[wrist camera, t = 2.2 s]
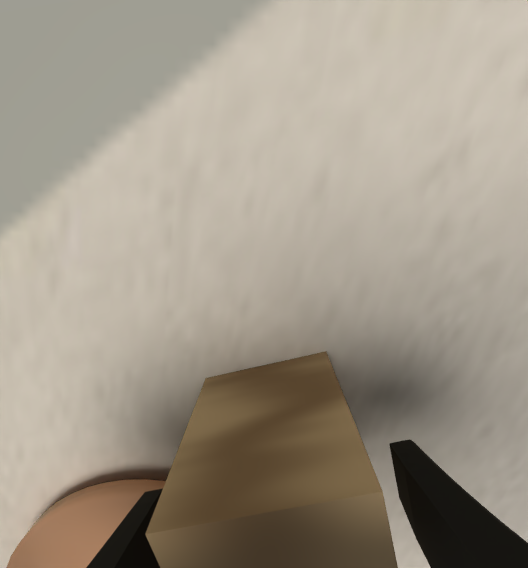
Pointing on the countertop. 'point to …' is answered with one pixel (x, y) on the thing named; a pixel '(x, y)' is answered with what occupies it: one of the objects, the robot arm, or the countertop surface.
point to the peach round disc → (79, 525)
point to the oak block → (272, 477)
